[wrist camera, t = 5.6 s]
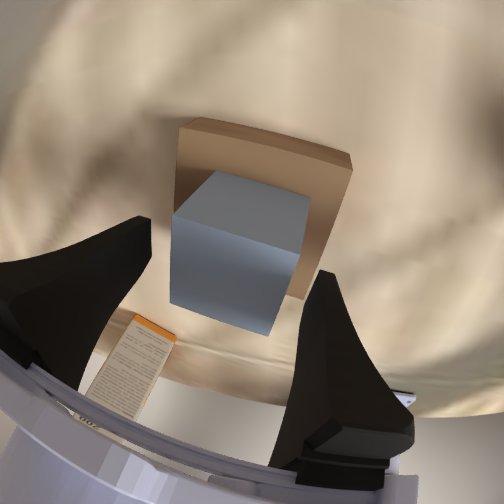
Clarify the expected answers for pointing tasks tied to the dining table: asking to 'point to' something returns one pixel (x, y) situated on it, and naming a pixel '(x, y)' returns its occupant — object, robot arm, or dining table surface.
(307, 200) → the cube
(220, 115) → the dining table surface
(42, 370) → the robot arm
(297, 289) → the base
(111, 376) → the supplement box
